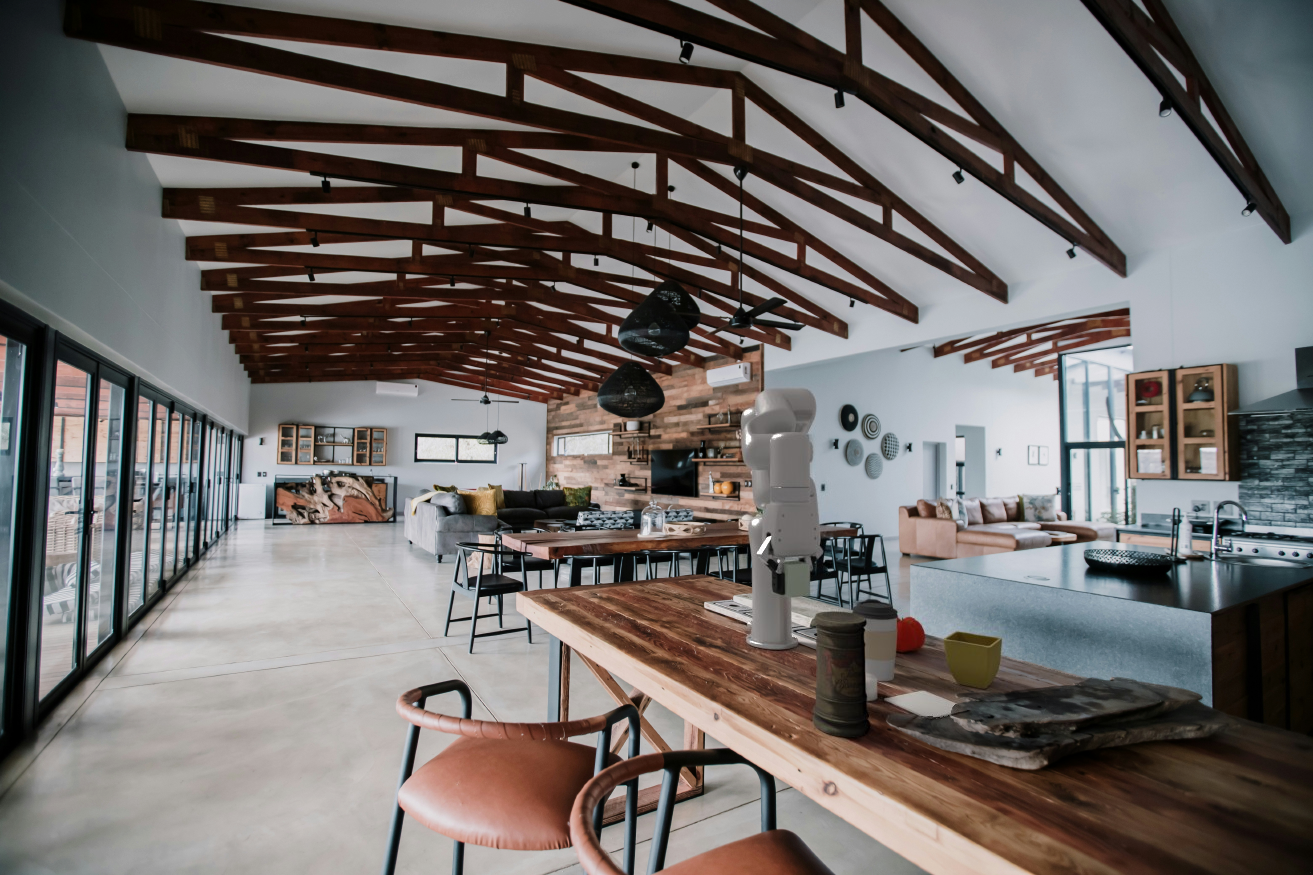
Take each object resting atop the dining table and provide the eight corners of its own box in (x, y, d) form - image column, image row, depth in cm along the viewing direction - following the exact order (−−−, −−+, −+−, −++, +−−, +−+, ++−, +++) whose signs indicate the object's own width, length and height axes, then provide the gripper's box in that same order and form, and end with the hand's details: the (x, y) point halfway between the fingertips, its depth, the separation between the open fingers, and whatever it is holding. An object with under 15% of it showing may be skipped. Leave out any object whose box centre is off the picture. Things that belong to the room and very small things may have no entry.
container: (802, 720, 103) (801, 612, 104) (844, 712, 107) (843, 608, 108) (837, 741, 95) (836, 624, 96) (882, 732, 99) (880, 619, 100)
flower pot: (943, 684, 121) (942, 638, 122) (957, 673, 128) (956, 630, 128) (992, 695, 115) (990, 646, 116) (1004, 683, 122) (1002, 637, 122)
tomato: (877, 650, 145) (876, 618, 145) (890, 642, 151) (890, 611, 152) (918, 658, 139) (917, 624, 139) (930, 649, 145) (929, 617, 146)
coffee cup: (903, 684, 121) (901, 607, 122) (855, 681, 123) (854, 605, 124) (895, 670, 130) (893, 598, 131) (850, 667, 132) (849, 596, 133)
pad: (884, 700, 113) (884, 698, 113) (923, 691, 117) (923, 690, 117) (929, 719, 104) (929, 718, 104) (969, 710, 108) (969, 708, 108)
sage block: (772, 592, 117) (772, 561, 118) (793, 590, 119) (793, 559, 120) (788, 597, 113) (788, 564, 113) (810, 595, 115) (809, 563, 115)
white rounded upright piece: (837, 692, 117) (836, 674, 117) (860, 687, 119) (860, 669, 120) (860, 703, 111) (859, 683, 112) (884, 698, 114) (883, 679, 114)
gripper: (813, 495, 124) (814, 585, 123) (741, 496, 117) (742, 592, 116) (838, 496, 117) (839, 592, 116) (764, 498, 110) (765, 600, 109)
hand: (791, 591), depth 116 cm, fingers closed on sage block, 5 cm apart
